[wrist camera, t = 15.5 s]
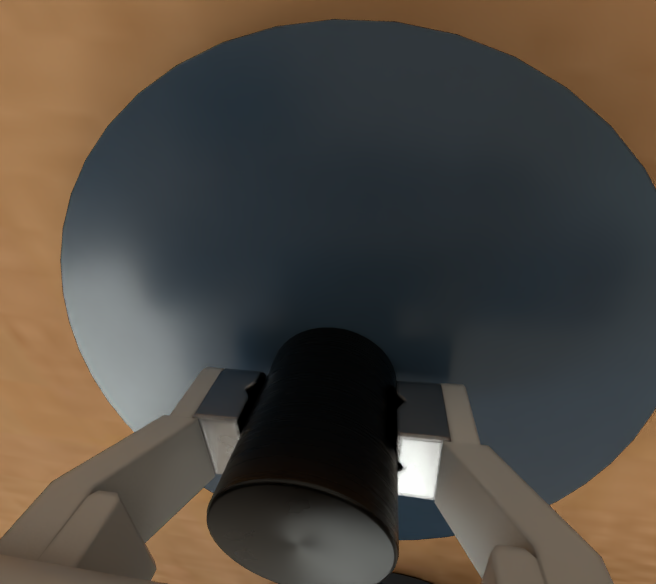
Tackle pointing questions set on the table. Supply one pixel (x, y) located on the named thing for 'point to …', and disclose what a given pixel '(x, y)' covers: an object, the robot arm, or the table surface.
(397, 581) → the canister
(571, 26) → the table surface
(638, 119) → the table surface
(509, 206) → the lid
